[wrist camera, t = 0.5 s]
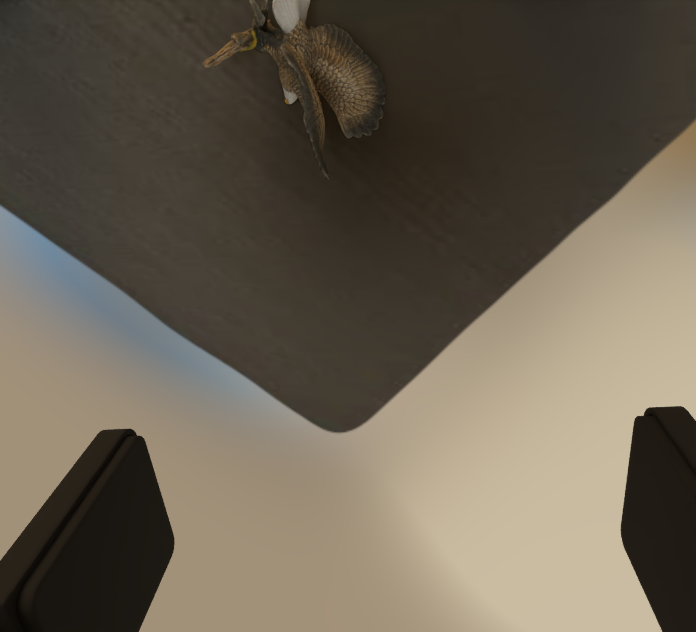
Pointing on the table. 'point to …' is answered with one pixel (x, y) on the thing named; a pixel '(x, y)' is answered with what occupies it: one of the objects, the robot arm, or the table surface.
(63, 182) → the table surface
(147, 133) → the table surface
